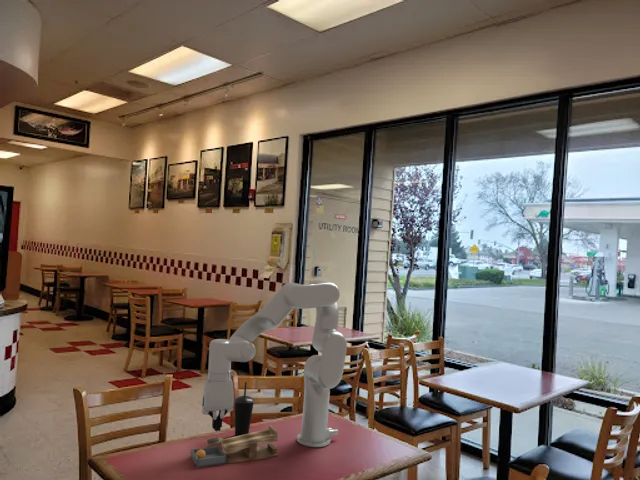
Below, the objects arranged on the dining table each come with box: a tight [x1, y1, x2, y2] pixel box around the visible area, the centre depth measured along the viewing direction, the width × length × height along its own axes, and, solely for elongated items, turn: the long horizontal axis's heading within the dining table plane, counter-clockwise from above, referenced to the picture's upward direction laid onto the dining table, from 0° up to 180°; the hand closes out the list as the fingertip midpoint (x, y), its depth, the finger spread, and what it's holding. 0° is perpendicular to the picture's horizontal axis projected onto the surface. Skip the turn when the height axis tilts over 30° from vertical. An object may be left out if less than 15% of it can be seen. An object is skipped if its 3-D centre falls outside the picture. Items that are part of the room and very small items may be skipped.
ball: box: [196, 449, 206, 459], centre depth 160 cm, size 3×3×3 cm
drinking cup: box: [234, 381, 256, 437], centre depth 184 cm, size 8×8×20 cm
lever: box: [205, 424, 279, 453], centre depth 168 cm, size 22×10×3 cm, turn 117°
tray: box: [190, 445, 227, 469], centre depth 161 cm, size 9×8×2 cm
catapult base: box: [222, 434, 279, 464], centre depth 167 cm, size 18×8×6 cm, turn 117°
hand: (216, 429), depth 168 cm, fingers closed
